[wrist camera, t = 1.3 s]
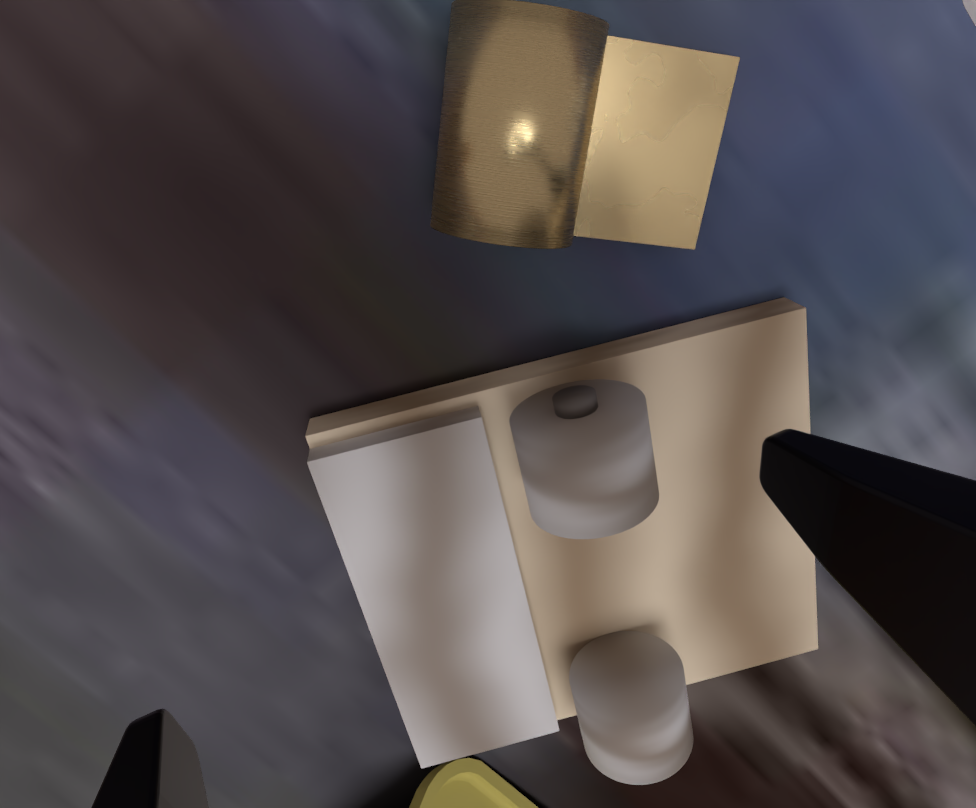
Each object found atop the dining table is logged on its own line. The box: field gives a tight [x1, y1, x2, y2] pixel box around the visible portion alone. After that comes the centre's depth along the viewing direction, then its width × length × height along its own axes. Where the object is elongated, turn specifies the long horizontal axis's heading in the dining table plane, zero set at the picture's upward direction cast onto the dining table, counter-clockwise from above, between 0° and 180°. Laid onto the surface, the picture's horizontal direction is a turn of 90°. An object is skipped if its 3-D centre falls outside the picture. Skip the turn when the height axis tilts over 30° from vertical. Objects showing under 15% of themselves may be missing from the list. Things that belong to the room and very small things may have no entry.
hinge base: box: [305, 297, 818, 785], centre depth 26 cm, size 18×16×6 cm
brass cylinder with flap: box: [430, 0, 740, 250], centre depth 21 cm, size 6×9×4 cm, turn 82°
